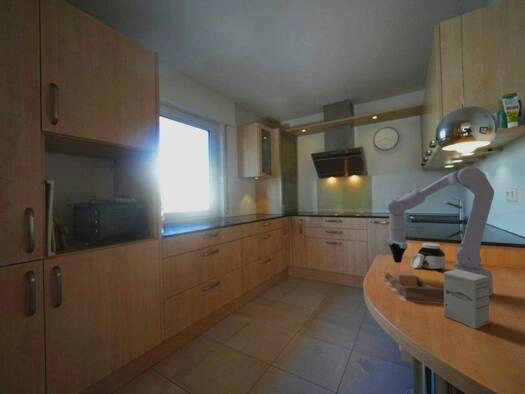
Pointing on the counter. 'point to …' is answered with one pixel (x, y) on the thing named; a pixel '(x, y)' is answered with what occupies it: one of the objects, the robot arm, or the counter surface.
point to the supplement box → (466, 297)
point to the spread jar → (429, 257)
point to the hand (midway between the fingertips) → (397, 262)
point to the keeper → (406, 278)
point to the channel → (415, 291)
